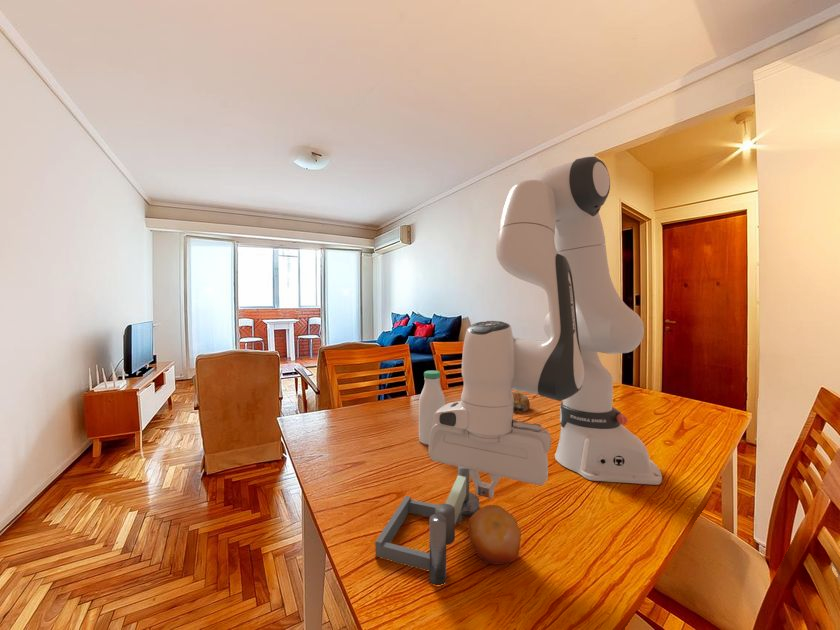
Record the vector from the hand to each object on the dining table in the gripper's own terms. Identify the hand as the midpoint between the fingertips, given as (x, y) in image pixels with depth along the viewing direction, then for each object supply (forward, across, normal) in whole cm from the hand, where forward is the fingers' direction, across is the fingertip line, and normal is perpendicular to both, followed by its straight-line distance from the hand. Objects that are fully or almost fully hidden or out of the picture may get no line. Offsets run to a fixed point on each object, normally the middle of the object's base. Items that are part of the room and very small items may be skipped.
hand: (484, 495), depth 58 cm
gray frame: (+7, +9, +6) cm, 13 cm away
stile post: (+7, +4, +13) cm, 15 cm away
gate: (+5, +5, +2) cm, 7 cm away
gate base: (+7, +5, -5) cm, 10 cm away
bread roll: (+6, +6, -71) cm, 72 cm away
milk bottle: (+7, +23, -32) cm, 40 cm away
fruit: (+7, -3, +4) cm, 9 cm away
